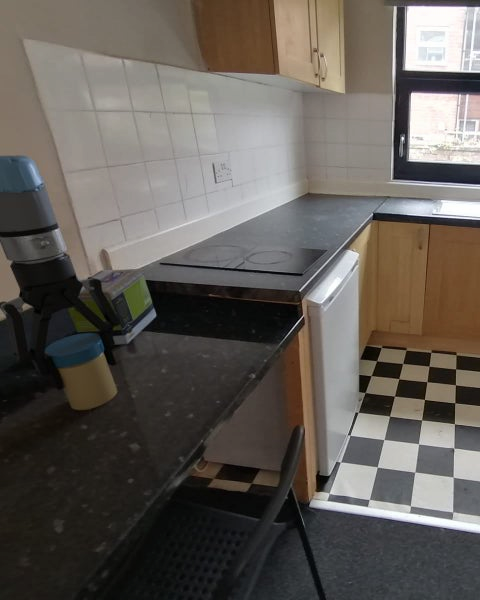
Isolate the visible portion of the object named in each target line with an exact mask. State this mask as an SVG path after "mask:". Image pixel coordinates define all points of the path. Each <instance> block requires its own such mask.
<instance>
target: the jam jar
mask: <svg viewBox="0 0 480 600" xmlns="http://www.w3.org/2000/svg"><path fill="white" fill-rule="evenodd" d="M55 368H56V371H57V373H58V375H59V378H60V380H61V382H62V385H63V387H64V388H63V389H62V390H63V392H64V395H65V398H66V399H67V402H68V404H69V406H70V408H71V409H73V410H75V411H86V410H91V409H95V408H98V407H101V406H104V405H105V404H106V403H108V402H110V401H111V400H112V399H114V398H115V397H116V396H117V393H118V388H117V385H116V382H115V380H114V376H113V374H112V371H111V368H110V364H108V363H107V360H106V357H105V354H104V351H103V352H102V353H101V354H100V355H99V356H98V357H96V358H94V359H92V360H90V361H88V362H85V363H82V364H79V365H75V366H70V367H55Z"/></svg>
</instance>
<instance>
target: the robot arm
mask: <svg viewBox="0 0 480 600" xmlns="http://www.w3.org/2000/svg"><path fill="white" fill-rule="evenodd" d="M45 183H46V182H45V180H44V178H43V177H42V176H41V173H40V171H39V168H38V166H37V164H36V162H35V161H34V160H33V158H31V157H30V156H27V155H21V154H20V155H18V154H17V155H0V246H1V248H2V250H3V253H4V256H5V258H6V259H7V261H10V262H11V263H10V265H9V267H10V269H11V272H12V274H13V276H14V279H15V282H16V284H17V286H18V288H19V293H18V297H15V298H14V299H12V300H11V299H10V300H9V301H4V300H3V301H0V310H1V312H2V313H3V314H4V316H5V318H6V325H7V330H8V336H9V340H10V345H11V351H12V356H13V358H15V359H16V360H18V361H20V362H22V363H25V362H29V361H32V363H33V365H34V368H35V370H36V372H37V373H38V374H40V375H41V376H42V377H44V376H47V379H48V381H49V383H50V385H51V387H53V388H55V389H56V390H57V391H61V390H63V388H64V387H63V385H62V382H61V380H60V378H59V375H58V373H57V371H56V368H55V366H54V364H53V361H52V359H51V357H50V356H49V355H47V354H45V349H46V346H47V345H46V344H47V337H48V333H49V332H48V330H49V324H50V321H51V319H52V315H53V314H55V313H57V312H59V311H61V310H65V309H67V310H68V308H71V307H73V308H75V309H76V310H77V311H78V312H79V313H80V314H81V315H83V316H84V317H85V318H86V319H87V320H88V321H89V322H91V323H92V324H93V325H94V326H95V327H96V328H97V329H99V330H100V332H99V331H98V332H95V334H98V335H100V336H101V339H102V342H103V345H104V354H105V357H106V360H107V363H108V365H109V366H112V367H113V366H115V365H117V361H116V358H115V356H114V352H113V350H112V348H113V347H116V345H115V342H114V339H113V336H112V333H113V328H114V327H115V326H118V325H119V324H120V320H119V319H118V317H117V315H116V314H115V312H114V310H113V308H112V307H111V305H110V303H109V302H108V300H107V298H106V296H105V295H104V293H103V291H102V285H101V281H100V280H99V279H96V278H93V277H92V276H88V277H87V278H84V279H80V278H79V277H78V276H77V273H76V270H75V267H74V264H73V261H72V259H71V256H70V255H69V254H68V253H67V250H68V248H67V245H66V243H65V242H66V241H65V240H64V237H63V234H62V232H61V229H60V226H59V223H58V221H57V218H56V217H57V216H56V215H55V214H56V213H55V212H54V209H53V206H52V202H51V201H50V196H49V194H48V191H47V188H46V184H45ZM83 286H84V288H85V289H86V290H88V291H89V293H90V295H91V296H92V298H93V300H94V301H95V303H96V305H97V306H98V308H99V310H100V311H101V313H102V315H103V316H104V318H105V319H106V321H105V322H104V321H103V320H102V319H101V318H99V317H98V316H97V315H96V314H95V313H94V312H93V311H92V310H91V309H90V308H88V307H87V306H86V304H85V303H84V302H83V301H82V300H80V299H79V298H78V296H79V294H80V291H81V289H82V287H83ZM25 304H26V305H28V306H30V307H32V318H33V320H32V325H31V332H30V338H29V339H30V340H29V346H28V343H27V342H28V341H27V337H26V331H25V326H24V320H23V316H22V314H21V313H22V312H23V310H24V308H23V306H24V305H25Z"/></svg>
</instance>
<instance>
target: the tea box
mask: <svg viewBox="0 0 480 600" xmlns="http://www.w3.org/2000/svg"><path fill="white" fill-rule="evenodd" d="M91 277H93V278H96V279H99V280H100V281H101V285H102V291H103V293H104V295H105V296H106V298H107V300H108V302H109V303H110V305H111V307H112V308H113V310H114V312H115V314H116V315H117V317H118V319H119V320H120V324H119V325H118V326H115V327H114V328H113V333H112V336H113V339H114V342H115V346H116V345H117V346H118V345H127V344H129V343H130V342H131V341H132V340H133V339H134V338H136V336H138V335H139V334H140V333H141V332H142V331H143V330H144V329H145V328H146V327H147V326H148V325H149V324H150V323H152V321H154V319H155V318H157V313H156V308H155V307H154V303H153V299H152V296H151V293H150V289H149V287H148V284H147V281H146V278H145V275H144V272H143V269H142V268H128V269H107V270H106V269H105V270H103V269H102V270H99V271H98V272H96V273H95V274H93V275H92V276H91ZM78 298H79V299H80V300H82V301H83V302H84V303H85V304H86V306H87V307H88V308H90V309H91V310H92V311H93V312H94V313H95V314H96V315H97V316H98V317H99V318H101V319H102V320H103V321H104V322H105V321H106V319H105V318H104V316H103V315H102V313H101V311H100V310H99V308H98V306H97V305H96V303H95V301H94V300H93V298H92V296H91V295H90V293H89V291H88V290H86V289H85V288H84V286H83V287H82V289H81V291H80V294H79V296H78ZM67 311H68V312H69V315H70V318H71V320H72V322H73V324H74V327H75V330H76V332H77V334H83V333H95V332H98V331H99V332H100V330H99V329H97V328H96V327H95V326H94V325H93V324H92V323H91V322H89V321H88V320H87V319H86V318H85V317H84V316H83V315H81V314H80V313H79V312H78V311H77V310H76V309H75V308H73V307H71V308H67Z"/></svg>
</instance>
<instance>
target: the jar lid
mask: <svg viewBox="0 0 480 600" xmlns="http://www.w3.org/2000/svg"><path fill="white" fill-rule="evenodd" d="M103 351H104V345H103V342H102V339H101V336H100V335H98V334H95V333H83V334H78V333H77V334H73V335H68V336H66V337H62V338H60V339H58V340H56V341H54V342H52V343H50V344H49V345H48V346H47V347H45V352H44V353H45V354H47V355H49V356H50V357H51V359H52V361H53V364H54V366H55V367H70V366H75V365H79V364H82V363H85V362H88V361H90V360H92V359H94V358H96V357H98V356H99V355H100V354H101V353H102V352H103Z"/></svg>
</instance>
